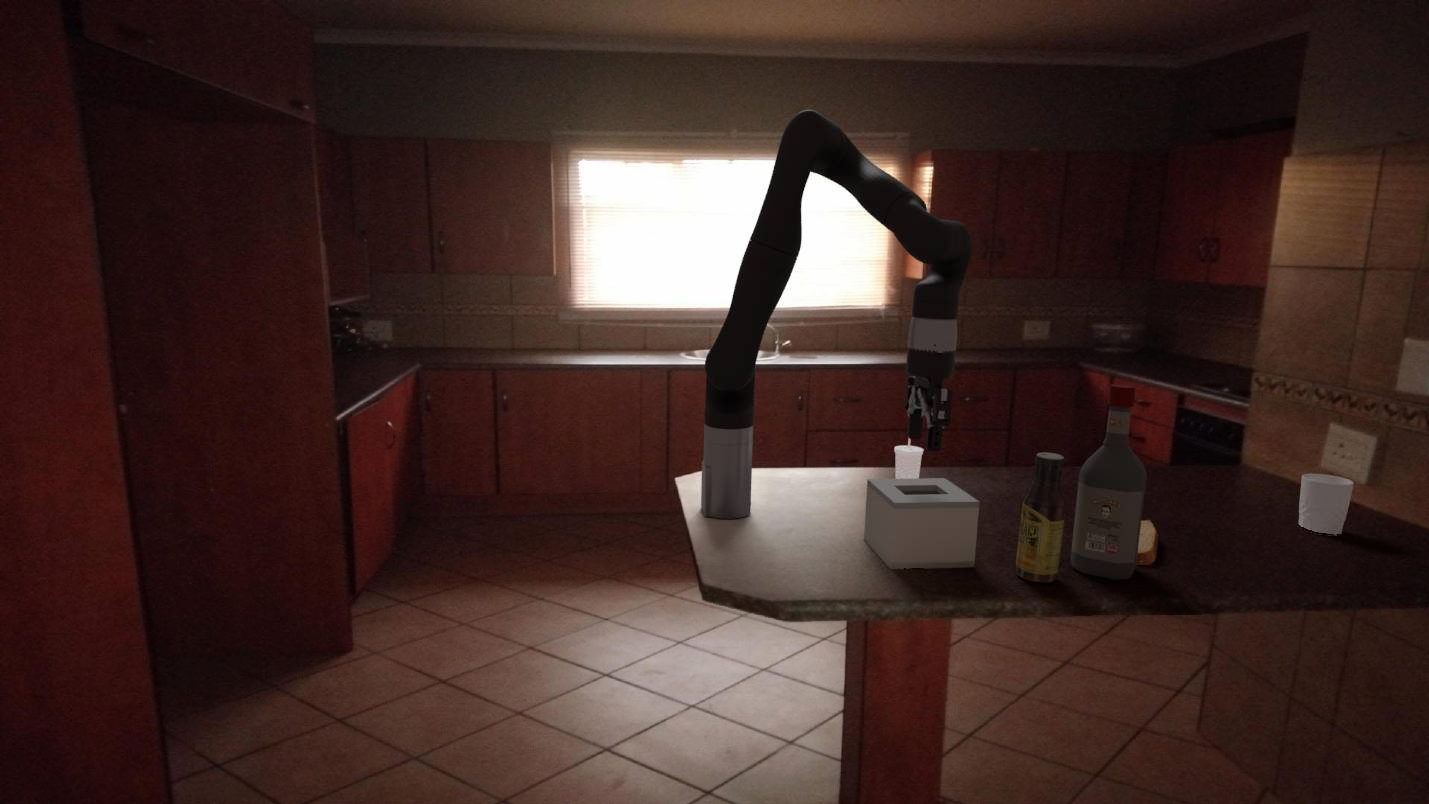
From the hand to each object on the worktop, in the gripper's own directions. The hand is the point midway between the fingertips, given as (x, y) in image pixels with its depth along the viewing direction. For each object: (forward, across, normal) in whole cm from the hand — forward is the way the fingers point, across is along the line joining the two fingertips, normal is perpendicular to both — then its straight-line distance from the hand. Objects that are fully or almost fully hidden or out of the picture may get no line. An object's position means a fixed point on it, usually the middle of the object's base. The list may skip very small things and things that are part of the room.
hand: (923, 444), depth 137 cm
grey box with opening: (+19, 0, +1) cm, 19 cm away
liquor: (+18, +8, +29) cm, 35 cm away
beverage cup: (+19, -39, +12) cm, 45 cm away
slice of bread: (+19, -3, +40) cm, 45 cm away
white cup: (+18, -8, +83) cm, 85 cm away
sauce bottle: (+19, +11, +16) cm, 27 cm away
